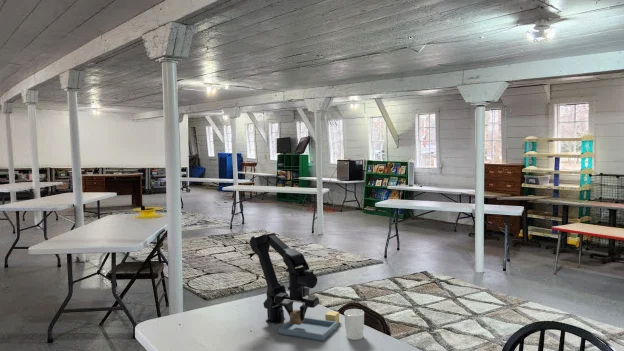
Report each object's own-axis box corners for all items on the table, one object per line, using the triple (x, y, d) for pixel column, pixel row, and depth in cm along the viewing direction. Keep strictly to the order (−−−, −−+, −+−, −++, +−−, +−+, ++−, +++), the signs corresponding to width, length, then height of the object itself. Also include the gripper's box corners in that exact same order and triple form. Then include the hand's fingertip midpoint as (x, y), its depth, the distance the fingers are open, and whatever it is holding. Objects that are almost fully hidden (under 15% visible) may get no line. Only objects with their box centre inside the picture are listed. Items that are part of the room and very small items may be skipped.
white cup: (363, 341, 182) (363, 316, 182) (343, 340, 184) (342, 315, 183) (365, 333, 190) (364, 309, 190) (346, 332, 192) (345, 308, 191)
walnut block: (290, 323, 195) (289, 313, 195) (295, 319, 199) (294, 309, 199) (299, 325, 193) (299, 314, 193) (304, 321, 198) (304, 310, 197)
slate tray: (278, 334, 192) (278, 328, 192) (295, 321, 206) (295, 315, 205) (322, 341, 183) (322, 335, 183) (337, 327, 197) (337, 321, 197)
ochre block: (325, 324, 201) (325, 314, 201) (329, 320, 205) (329, 310, 205) (335, 325, 199) (334, 315, 199) (339, 322, 203) (338, 312, 203)
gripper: (324, 280, 199) (325, 316, 200) (285, 276, 207) (287, 310, 208) (312, 287, 189) (314, 325, 190) (272, 283, 197) (274, 319, 198)
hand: (297, 319), depth 196 cm, fingers closed on walnut block, 4 cm apart
